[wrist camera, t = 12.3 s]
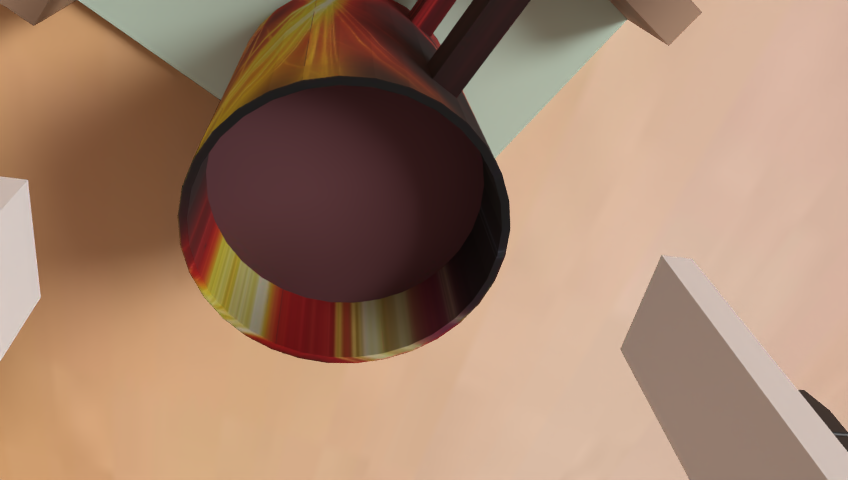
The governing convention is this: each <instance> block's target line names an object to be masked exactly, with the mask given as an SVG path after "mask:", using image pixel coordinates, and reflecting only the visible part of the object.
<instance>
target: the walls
mask: <svg viewBox="0 0 848 480" xmlns="http://www.w3.org/2000/svg"><path fill="white" fill-rule="evenodd" d="M74 1H76V0H0V4H2V5H3V6H5V7H6V8H8V9H9V10H11V11H12V12H14V13H15V14H17V15H18V16H20V17H21V18H23V19H24V20H26V21H27V22H29V23H30V24H32V25H33V26H34V25H36V24H38V23H39V22H41V21H43V20H44V19H46V18H48V17H49V16H51V15H53V14H54V13H56V12H58V11H59V10H61V9H63V8H64V7H66V6H68V5H69V4H71V3H73V2H74ZM609 1H610V2H611V3H612V4H613V5H614V6H615V7H616V8H617V9H618V10H619V11H620V12H621V13H622V14H623V15H624V16H625V17H626V18H627V19H628V20H629V21H631V22H632V23H634V24H636V25H637V26H639V27H640V28H642V29H643V30H645V31H647V32H648V33H650V34H651V35H653V36H654V37H656V38H658V39H659V40H661V41H662V42H664V43H665V44H667V45H670V44H671V43H672V42H673V41H674V40H675V39H676V38H677V37H678V36H679V35H680V34H681V33H682V32H683V31H684V30H685V29H686V28H687V27H688V26H689V25H690V24H691V23H692V22H693V21H694V20H695V19H696V18H697V17H698V16H699V15H700V14H701V13H702V12H701V11H700V10H699V8H698V7H697V6H696V5H695V4H694V3H693V2H692V1H691V0H609Z"/></svg>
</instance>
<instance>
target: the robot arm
mask: <svg viewBox="0 0 848 480" xmlns="http://www.w3.org/2000/svg"><path fill="white" fill-rule="evenodd" d="M40 298H41V295H40V286H39V277H38V268H37V259H36V250H35V240H34V231H33V222H32V213H31V204H30V195H29V185H28V180H26V179H17V178H9V177H0V361H1V359H2V358H3V356H4V354H5V353H6V351H7V350H8V348H9V347H10V345H11V343H12V342H13V340H14V339H15V337H16V336H17V334H18V332H19V331H20V329H21V328H22V326H23V325H24V323H25V321H26V320H27V318H28V317H29V315H30V313H31V312H32V310H33V309H34V307H35V306H36V304H37V302H38V301H39V299H40ZM621 351H622V353H623V355H624V357H625V359H626V361H627V363H628V364H629V366H630V368H631V370H632V372H633V374H634V376H635V378H636V380H637V381H638V383H639V385H640V387H641V389H642V391H643V393H644V395H645V397H646V398H647V400H648V402H649V404H650V406H651V408H652V410H653V412H654V414H655V415H656V417H657V419H658V421H659V423H660V425H661V427H662V429H663V431H664V432H665V434H666V436H667V438H668V440H669V442H670V444H671V446H672V448H673V449H674V451H675V453H676V455H677V457H678V459H679V461H680V463H681V465H682V466H683V468H684V470H685V472H686V474H687V476H688V478H689V480H848V432H847V431H846V430H845V428H844V427H843V426H842V425H841V424H840V422H839V421H838V420H837V419H836V417H835V416H834V415H833V414H832V413H831V411H830V410H828V409H827V408H826V407H825V406H823V405H822V404H821V403H820V402H818V401H817V400H816V399H815V398H813V397H812V396H811V395H810V394H808V393H807V392H806V391H805V390H798V389H797V388H796V387H795V386H794V384H793V383H792V382H791V381H790V379H789V378H788V377H787V376H786V374H785V373H784V372H783V371H782V370H781V368H780V367H779V366H778V365H777V363H776V362H775V361H774V360H773V358H772V357H771V356H770V355H769V353H768V352H767V351H766V350H765V348H764V347H763V346H762V345H761V343H760V342H759V341H758V340H757V338H756V337H755V336H754V335H753V333H752V332H751V331H750V330H749V328H748V327H747V326H746V325H745V324H744V322H743V321H742V320H741V319H740V317H739V316H738V315H737V314H736V312H735V311H734V310H733V309H732V307H731V306H730V305H729V304H728V302H727V301H726V300H725V299H724V297H723V296H722V295H721V294H720V292H719V291H718V290H717V289H716V287H715V286H714V285H713V284H712V283H711V281H710V280H709V279H708V278H707V276H706V275H705V274H704V273H703V271H702V270H701V269H700V268H699V266H698V265H697V264H696V263H695V261H694V260H693V259H690V258H682V257H673V256H665V255H662V256H661V258H660V260H659V262H658V265H657V267H656V269H655V271H654V274H653V276H652V278H651V281H650V283H649V285H648V287H647V290H646V292H645V294H644V297H643V299H642V301H641V303H640V306H639V308H638V310H637V312H636V315H635V317H634V319H633V322H632V324H631V326H630V328H629V331H628V333H627V335H626V338H625V340H624V342H623V344H622V347H621Z"/></svg>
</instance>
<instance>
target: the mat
mask: <svg viewBox="0 0 848 480" xmlns="http://www.w3.org/2000/svg"><path fill="white" fill-rule="evenodd" d="M78 1H80V2H81V3H83V4H84V5H85V6H87V7H88V8H90V9H91V10H93V11H94V12H95V13H97V14H98V15H100V16H101V17H103V18H104V19H105V20H107V21H108V22H110V23H111V24H113V25H114V26H115V27H117V28H118V29H120V30H121V31H123V32H124V33H125V34H127V35H128V36H130V37H131V38H133V39H134V40H135V41H137V42H138V43H140V44H141V45H143V46H144V47H145V48H147V49H148V50H150V51H151V52H153V53H154V54H155V55H157V56H158V57H160V58H161V59H163V60H164V61H165V62H167V63H168V64H170V65H171V66H173V67H174V68H175V69H177V70H178V71H180V72H181V73H183V74H184V75H185V76H187V77H188V78H190V79H191V80H193V81H194V82H195V83H197V84H198V85H200V86H201V87H203V88H204V89H205V90H207V91H208V92H210V93H211V94H213V95H214V96H215V97H217V98H218V99H220V100H221V99H222V97H223V94H224V92H225V90H226V88H227V86H228V84H229V82H230V80H231V77H232V75H233V73H234V71H235V69H236V67H237V65H238V63H239V60H240V58H241V56H242V54H243V52H244V50H245V48H246V45H247V43H248V42H249V40H250V39H251V37H252V36H253V34H254V33H255V32H256V30H257V29H258V27H259V26H260V24H261V23H263V22H264V21H265V20H266V19H267V18H268V17H269V16H270V15H271V14H272V13H273V12H274V11H275V10H276V9H278V8H280V7H281V6H283V5H285V4H286V3H288V2H290V1H292V0H78ZM394 1H396V2H398V3H399V4H401V5H403V6H405V7H407V8H408V9H409V10H410V11H411V9H412V8H413V6H414V5H415V3H416V2H417V0H394ZM472 1H473V0H456V2H455V3H454V5H453V6H452V7H451V9H450V10H449V12H448V13H447V15H446V16H445V17H444V19H443V20H442V22H441V23H440V24H439V26H438V27H437V29H436V30H435V31H434V33H433V34H434V35H435V36H436V38H437V39H438V41H439V43H440V45H441V44H442V43H443V41H444V40H445V38H446V37H447V36H448V34H449V33H450V31H451V30H452V29H453V27H454V26H455V24H456V23H457V22H458V20H459V19H460V18H461V16H462V15H463V13H464V12H465V11H466V9H467V8H468V6H469V5H470V4H471V2H472ZM626 20H627V18H626V17H625V16H624V15H623V14H622V13H621V12H620V11H619V10H618V9H617V8H616V7H615V6H614V5H613V4H612V3H611V2H610V1H609V0H531V1H530V2H529V3H528V5H527V6H526V7H525V9H524V10H523V11H522V13H521V14H520V15H519V17H518V18H517V19H516V21H515V22H514V23H513V25H512V26H511V27H510V28H509V30H508V31H507V32H506V34H505V35H504V36H503V38H502V39H501V40H500V42H499V43H498V44H497V46H496V47H495V48H494V50H493V51H492V52H491V54H490V55H489V56H488V58H487V59H486V60H485V62H484V63H483V64H482V65H481V67H480V68H479V69H478V71H477V72H476V73H475V75H474V76H473V77H472V79H471V80H470V81H469V83H468V84H467V85H466V87H465V88H464V89H463V92H464V94H465V96H466V99H467V101H468V103H469V105H470V107H471V109H472V111H473V113H474V116H475V118H476V120H477V122H478V124H479V126H480V128H481V130H482V133H483V135H484V137H485V139H486V141H487V143H488V145H489V147H490V149H491V152H492V154H493V156H494V158H496V157H497V156H498V155H499V154H500V153H501V152H502V150H503V149H504V148H505V147H506V146H507V145H508V144H509V143H510V142H511V141H512V140H513V139H514V138H515V137H516V136H517V135H518V134H519V133H520V132H521V131H522V129H523V128H524V127H525V126H526V125H527V124H528V123H529V122H530V121H531V120H532V119H533V118H534V117H535V116H536V115H537V114H538V113H539V112H540V111H541V110H542V108H543V107H544V106H545V105H546V104H547V103H548V102H549V101H550V100H551V99H552V98H553V97H554V96H555V95H556V94H557V93H558V92H559V91H560V90H561V89H562V88H563V86H564V85H565V84H566V83H567V82H568V81H569V80H570V79H571V78H572V77H573V76H574V75H575V74H576V73H577V72H578V71H579V70H580V69H581V68H582V67H583V65H584V64H585V63H586V62H587V61H588V60H589V59H590V58H591V57H592V56H593V55H594V54H595V53H596V52H597V51H598V50H599V49H600V48H601V47H602V46H603V44H604V43H605V42H606V41H607V40H608V39H609V38H610V37H611V36H612V35H613V34H614V33H615V32H616V31H617V30H618V29H619V28H620V27H621V26H622V25H623V23H624V22H625V21H626Z"/></svg>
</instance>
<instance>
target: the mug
mask: <svg viewBox="0 0 848 480" xmlns="http://www.w3.org/2000/svg"><path fill="white" fill-rule="evenodd" d="M530 1H531V0H473V1H472V2H471V4H470V5H469V6H468V8H467V9H466V11H465V12H464V13H463V15H462V16H461V18H460V19H459V20H458V22H457V23H456V24H455V26H454V27H453V29H452V30H451V31H450V33H449V34H448V36H447V37H446V38H445V40H444V41H443V43H442V44H441V45H440V43H439V41H438V39H437V38H436V36H435V35H434V34H433V33H434V31H435V30H436V29H437V27H438V26H439V24H440V23H441V22H442V20H443V19H444V17H445V16H446V15H447V13H448V12H449V10H450V9H451V7H452V6H453V5H454V3H455V2H456V0H417V2H416V3H415V5H414V6H413V8H412V9H411V11H410V10H409V9H408V8H407V7H405V6H403V5H401V4H399V3H398V2H396V1H394V0H292V1H290V2H288V3H286V4H285V5H283V6H281V7H280V8H278V9H276V10H275V11H274V12H273V13H272V14H271V15H270V16H269V17H268V18H267V19H266V20H265V21H264V22H263V23H261V24H260V26H259V27H258V29H257V30H256V32H255V33H254V34H253V36H252V37H251V39H250V40H249V42H248V43H247V45H246V48H245V50H244V52H243V54H242V56H241V58H240V60H239V63H238V65H237V67H236V69H235V71H234V73H233V75H232V77H231V80H230V82H229V84H228V86H227V88H226V90H225V92H224V94H223V97H222V99H221V101H220V103H219V105H218V107H217V109H216V111H215V114H214V116H213V118H212V120H211V122H210V124H209V126H208V128H207V131H206V133H205V135H204V137H203V139H202V141H201V143H200V145H199V148H198V150H197V152H196V154H195V156H194V158H193V161H192V163H191V166H190V168H189V171H188V173H187V176H186V178H185V181H184V183H183V186H182V191H181V197H180V204H179V211H178V224H179V235H180V245H181V248H182V251H183V255H184V258H185V261H186V264H187V267H188V270H189V273H190V274H191V276H192V278H193V279H194V281H195V283H196V284H197V286H198V288H199V290H200V291H201V293H202V295H203V296H204V298H205V299H206V300H207V301H208V302H209V303H210V304H211V305H212V306H213V308H214V309H215V310H216V311H217V312H218V313H219V314H220V315H221V316H222V318H223V319H225V320H226V321H227V322H229V323H230V324H231V325H233V326H234V327H235V328H237V329H238V330H239V331H240V332H242V333H243V334H244V335H246V336H248V337H249V338H251V339H253V340H255V341H257V342H259V343H261V344H263V345H265V346H267V347H269V348H271V349H273V350H276V351H279V352H282V353H285V354H288V355H291V356H294V357H297V358H302V359H308V360H314V361H320V362H326V363H361V362H368V361H375V360H382V359H387V358H390V357H394V356H397V355H400V354H404V353H407V352H410V351H413V350H415V349H417V348H419V347H421V346H423V345H425V344H428V343H430V342H432V341H434V340H436V339H438V338H439V337H441V336H442V335H443V334H445V333H446V332H448V331H449V330H451V329H452V328H453V327H455V326H456V325H458V324H459V323H460V322H461V321H462V320H463V319H464V318H465V317H466V316H467V315H468V314H469V313H470V312H471V311H472V310H473V309H474V308H475V307H476V306H477V305H478V304H479V303H480V302H481V300H482V299H483V297H484V296H485V294H486V293H487V291H488V290H489V289H490V287H491V286H492V284H493V283H494V281H495V279H496V277H497V274H498V272H499V269H500V267H501V265H502V262H503V260H504V258H505V254H506V249H507V243H508V238H509V233H510V209H509V199H508V195H507V191H506V187H505V183H504V180H503V176H502V173H501V171H500V169H499V166H498V164H497V162H496V160H495V158H494V156H493V154H492V152H491V149H490V147H489V145H488V143H487V141H486V139H485V137H484V135H483V133H482V130H481V128H480V126H479V124H478V122H477V120H476V118H475V116H474V113H473V111H472V109H471V107H470V105H469V103H468V101H467V99H466V96H465V94H464V92H463V89H464V88H465V87H466V85H467V84H468V83H469V81H470V80H471V79H472V77H473V76H474V75H475V73H476V72H477V71H478V69H479V68H480V67H481V65H482V64H483V63H484V62H485V60H486V59H487V58H488V56H489V55H490V54H491V52H492V51H493V50H494V48H495V47H496V46H497V44H498V43H499V42H500V40H501V39H502V38H503V36H504V35H505V34H506V32H507V31H508V30H509V28H510V27H511V26H512V25H513V23H514V22H515V21H516V19H517V18H518V17H519V15H520V14H521V13H522V11H523V10H524V9H525V7H526V6H527V5H528V3H529V2H530Z"/></svg>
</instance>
